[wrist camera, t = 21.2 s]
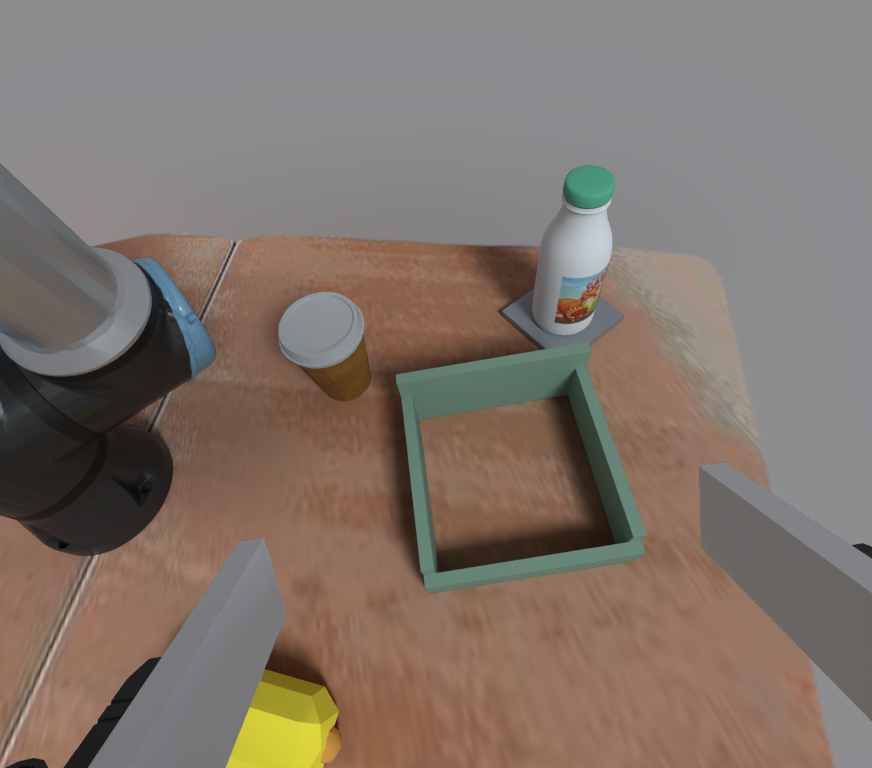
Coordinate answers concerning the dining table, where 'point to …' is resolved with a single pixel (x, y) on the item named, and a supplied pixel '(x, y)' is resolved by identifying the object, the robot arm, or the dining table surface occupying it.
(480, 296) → the dining table surface
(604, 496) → the green wooden frame
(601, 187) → the milk bottle
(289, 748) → the yellow faceted block
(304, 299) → the disposable coffee cup
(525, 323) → the slate tile
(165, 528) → the dining table surface
